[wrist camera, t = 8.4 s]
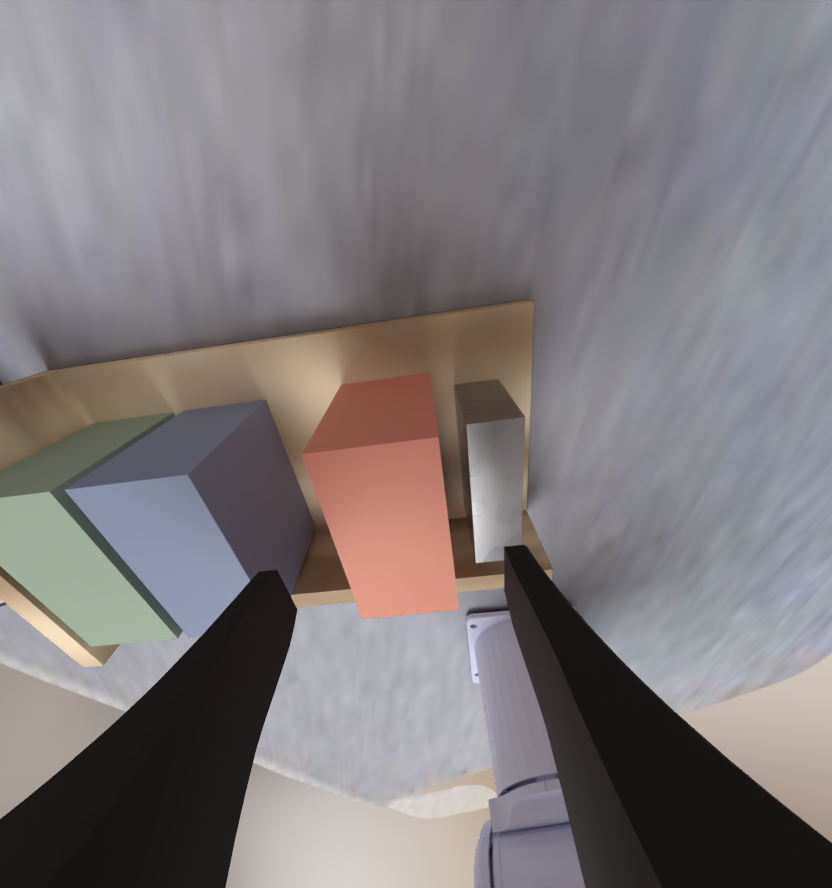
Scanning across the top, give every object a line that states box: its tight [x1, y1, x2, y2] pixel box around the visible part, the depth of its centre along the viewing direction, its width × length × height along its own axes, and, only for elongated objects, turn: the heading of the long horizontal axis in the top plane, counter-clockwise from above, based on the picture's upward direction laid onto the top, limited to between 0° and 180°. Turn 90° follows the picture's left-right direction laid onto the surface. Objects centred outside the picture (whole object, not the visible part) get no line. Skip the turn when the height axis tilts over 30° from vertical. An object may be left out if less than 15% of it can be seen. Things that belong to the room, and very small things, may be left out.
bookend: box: [454, 379, 525, 563], centre depth 15 cm, size 7×2×4 cm, turn 8°
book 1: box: [0, 412, 183, 647], centre depth 15 cm, size 8×4×6 cm, turn 8°
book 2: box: [65, 400, 316, 638], centre depth 14 cm, size 8×4×6 cm, turn 8°
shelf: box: [0, 300, 553, 667], centre depth 14 cm, size 12×22×7 cm, turn 98°
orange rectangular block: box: [302, 373, 459, 619], centre depth 14 cm, size 8×4×6 cm, turn 8°
